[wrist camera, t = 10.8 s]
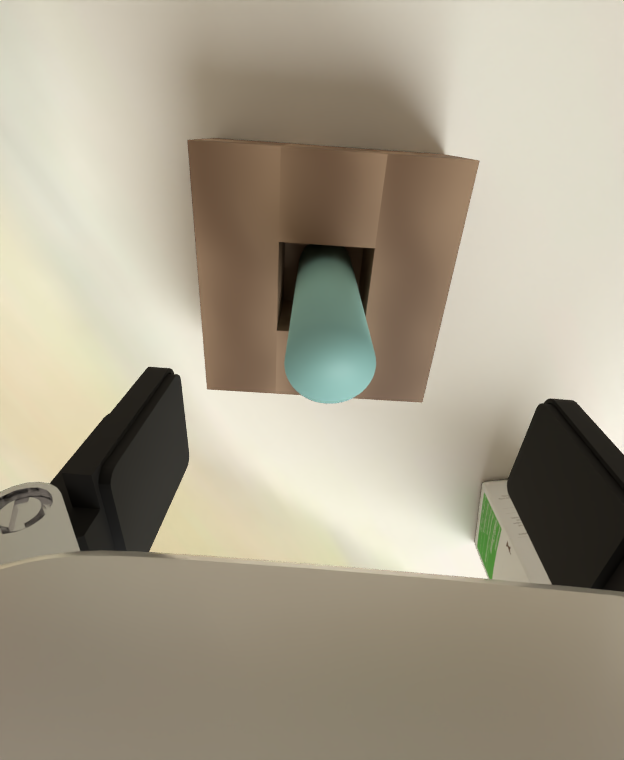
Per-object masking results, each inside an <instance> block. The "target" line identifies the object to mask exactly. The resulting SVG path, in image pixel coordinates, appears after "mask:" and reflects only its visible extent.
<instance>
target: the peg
mask: <svg viewBox="0 0 624 760" xmlns="http://www.w3.org/2000/svg"><path fill="white" fill-rule="evenodd" d="M284 366H285V373H286V376H287V378H288V380H289V382H290V384H291V385H292V387H293V388H294V389H295V390H296V391H297V392H298V393H300V394H301V395H302V396H304V397H306V398H308V399H310V400H312V401H315V402H320V403H339V402H344V401H347V400H349V399H352V398H354V397H355V396H357V395H359V394H360V393H361V392H362V391H363V390H364V389H365V388H366V387H367V386H368V385H369V383H370V382H371V380H372V378H373V376H374V373H375V369H376V356H375V352H374V348H373V344H372V340H371V336H370V333H369V329H368V325H367V321H366V317H365V313H364V309H363V305H362V302H361V298H360V294H359V290H358V286H357V282H356V278H355V274H354V270H353V267H352V263H351V259H350V256H349V253H348V251H347V250H346V248H345V247H344V246H332V245H317V244H309V245H307V246H306V247H305V249H304V250H303V252H302V253H301V256H300V259H299V265H298V272H297V279H296V286H295V292H294V299H293V306H292V313H291V320H290V326H289V333H288V340H287V347H286V354H285V362H284Z"/></svg>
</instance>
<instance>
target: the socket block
mask: <svg viewBox="0 0 624 760" xmlns="http://www.w3.org/2000/svg"><path fill="white" fill-rule="evenodd" d="M188 153H189V166H190V178H191V191H192V204H193V216H194V229H195V242H196V255H197V267H198V280H199V293H200V306H201V318H202V331H203V344H204V356H205V369H206V382H207V389H211V390H227V391H244V392H260V393H276V394H293V395H301V394H300V393H298V392H297V391H296V390H295V389H294V388H293V387H292V385H291V384H290V382H289V380H288V378H287V376H286V373H285V366H284V362H285V354H286V347H287V340H288V333H289V326H290V320H291V313H292V306H293V299H294V292H295V286H296V279H297V272H298V265H299V259H300V256H301V253H302V252H303V250H304V249H305V247H306V246H307V245H309V244H317V245H332V246H344V247H345V248H346V250H347V251H348V253H349V256H350V259H351V263H352V267H353V270H354V274H355V278H356V282H357V286H358V290H359V294H360V298H361V302H362V305H363V309H364V313H365V317H366V321H367V325H368V329H369V333H370V336H371V340H372V344H373V348H374V352H375V356H376V369H375V373H374V376H373V378H372V380H371V382H370V383H369V385H368V386H367V387H366V388H365V389H364V390H363V391H362V392H361V393H360V394H359V395H357V396H355V397H354V398H358V399H374V400H391V401H407V402H422V401H423V397H424V393H425V389H426V385H427V380H428V376H429V372H430V368H431V363H432V359H433V355H434V351H435V347H436V342H437V338H438V334H439V330H440V325H441V321H442V317H443V313H444V309H445V304H446V300H447V296H448V292H449V287H450V283H451V279H452V275H453V271H454V266H455V262H456V258H457V254H458V249H459V245H460V241H461V237H462V233H463V228H464V224H465V220H466V216H467V211H468V207H469V203H470V199H471V195H472V190H473V186H474V182H475V178H476V173H477V169H478V165H479V161H478V160H473V159H467V158H462V157H456V156H450V155H444V154H430V153H416V152H402V151H388V150H374V149H360V148H346V147H333V146H319V145H305V144H291V143H277V142H263V141H249V140H235V139H221V138H211V139H194V140H188Z"/></svg>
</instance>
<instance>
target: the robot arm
mask: <svg viewBox="0 0 624 760" xmlns="http://www.w3.org/2000/svg"><path fill="white" fill-rule="evenodd" d="M188 462H189V448H188V440H187V431H186V422H185V413H184V404H183V395H182V386H181V379H180V376H179V375H177V374H174V372H173V370H172V369H170V368H158V367H148V368H147V369H146V370H145V371H144V373H143V374H142V375H141V376H140V377H139V379H138V380H137V381H136V382H135V384H134V385H133V386H132V387H131V388H130V390H129V391H128V392H127V393H126V395H125V396H124V397H123V398H122V399H121V401H120V402H119V403H118V404H117V406H116V407H115V408H114V409H113V410H112V412H111V413H110V414H108V415H107V416H105V417H104V418H103V420H102V421H101V422H100V423H99V424H98V426H97V427H96V428H95V429H94V431H93V432H92V433H91V434H90V435H89V437H88V438H87V439H86V440H85V441H84V443H83V444H82V445H81V446H80V447H79V449H78V450H77V451H76V452H75V453H74V455H73V456H72V457H71V458H70V460H69V461H68V462H67V463H66V464H65V466H64V467H63V468H62V469H61V470H60V472H59V473H58V474H57V475H56V476H55V478H54V479H53V480H52V481H51V483H43V482H30V483H24V484H20V485H16V486H13V487H10V488H8V489H6V490H3V491H1V492H0V760H624V455H623V454H622V452H621V451H620V450H619V449H618V448H617V447H616V446H615V445H614V444H613V442H612V441H611V440H610V439H609V438H608V437H607V436H606V435H605V434H604V433H603V431H602V430H601V429H600V428H599V427H598V426H597V425H596V424H595V423H594V421H593V420H592V419H591V418H590V417H589V416H588V415H587V414H586V413H585V412H584V410H583V409H582V408H581V407H580V406H579V405H578V404H577V403H576V402H575V401H572V400H562V399H548V400H546V401H545V402H544V404H543V403H542V404H539V405H538V407H537V409H536V411H535V413H534V416H533V418H532V421H531V423H530V426H529V428H528V431H527V433H526V436H525V438H524V441H523V443H522V446H521V448H520V451H519V453H518V455H517V458H516V460H515V463H514V465H513V468H512V470H511V473H510V475H509V478H508V481H507V491H508V494H509V497H510V499H511V501H512V503H513V505H514V507H515V509H516V511H517V513H518V515H519V517H520V519H521V521H522V524H523V526H524V528H525V530H526V532H527V534H528V536H529V538H530V540H531V542H532V544H533V546H534V548H535V551H536V553H537V555H538V557H539V559H540V561H541V563H542V565H543V567H544V569H545V571H546V573H547V575H548V578H549V580H550V582H551V584H552V585H550V584H538V583H527V582H516V581H505V580H494V579H483V578H472V577H461V576H449V575H437V574H426V573H414V572H402V571H390V570H378V569H367V568H355V567H343V566H331V565H318V564H306V563H293V562H280V561H268V560H255V559H242V558H230V557H217V556H203V555H187V554H171V553H155V552H149V551H150V548H151V546H152V544H153V542H154V540H155V537H156V535H157V533H158V531H159V528H160V526H161V524H162V522H163V520H164V517H165V515H166V513H167V511H168V509H169V506H170V504H171V502H172V500H173V497H174V495H175V493H176V491H177V489H178V486H179V484H180V482H181V480H182V478H183V475H184V473H185V471H186V469H187V466H188Z"/></svg>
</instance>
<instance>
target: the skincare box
mask: <svg viewBox="0 0 624 760" xmlns="http://www.w3.org/2000/svg"><path fill="white" fill-rule="evenodd" d="M507 481H508V480H497V481H488V482H484V483H483V484H482V490H481V498H480V503H479V512H478V521H477V529H476V536H475V546H476V549H477V551H478V554H479V556H480V559H481V562H482V564H483V567H484V569H485V572H486V574H487V577H488V579H494V580H505V581H516V582H527V583H538V584H550V585H552V584H551V582H550V580H549V578H548V575H547V573H546V571H545V569H544V567H543V565H542V563H541V561H540V559H539V557H538V555H537V553H536V551H535V548H534V546H533V544H532V542H531V540H530V538H529V536H528V534H527V532H526V530H525V528H524V526H523V524H522V521H521V519H520V517H519V515H518V513H517V511H516V509H515V507H514V505H513V503H512V501H511V499H510V497H509V494H508V491H507Z"/></svg>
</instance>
